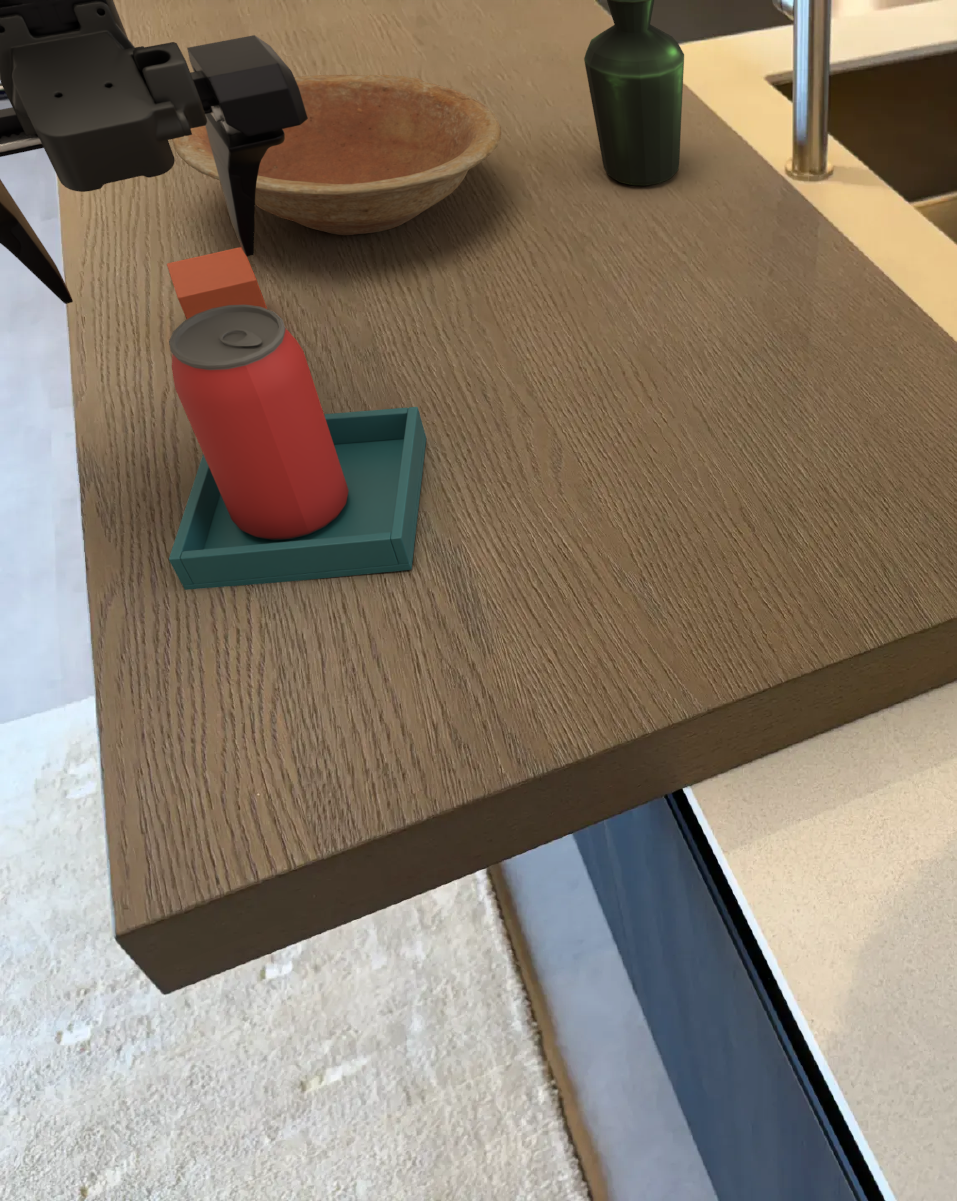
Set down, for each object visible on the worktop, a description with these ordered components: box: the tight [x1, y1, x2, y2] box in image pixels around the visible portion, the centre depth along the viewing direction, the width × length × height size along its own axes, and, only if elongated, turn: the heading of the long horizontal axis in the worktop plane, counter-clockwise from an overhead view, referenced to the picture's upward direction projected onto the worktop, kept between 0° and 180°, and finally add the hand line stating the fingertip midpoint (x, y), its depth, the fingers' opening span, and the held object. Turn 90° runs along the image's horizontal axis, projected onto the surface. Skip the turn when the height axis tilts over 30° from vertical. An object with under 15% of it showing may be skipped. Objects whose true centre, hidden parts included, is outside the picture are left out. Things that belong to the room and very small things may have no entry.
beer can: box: [168, 305, 349, 540], centre depth 63 cm, size 7×7×12 cm
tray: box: [168, 406, 427, 591], centre depth 67 cm, size 12×12×2 cm
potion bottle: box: [583, 0, 685, 186], centre depth 92 cm, size 8×8×18 cm
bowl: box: [171, 74, 502, 236], centre depth 90 cm, size 24×24×8 cm
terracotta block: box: [166, 246, 268, 320], centre depth 79 cm, size 5×5×5 cm
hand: (160, 275), depth 61 cm, fingers open, 9 cm apart
